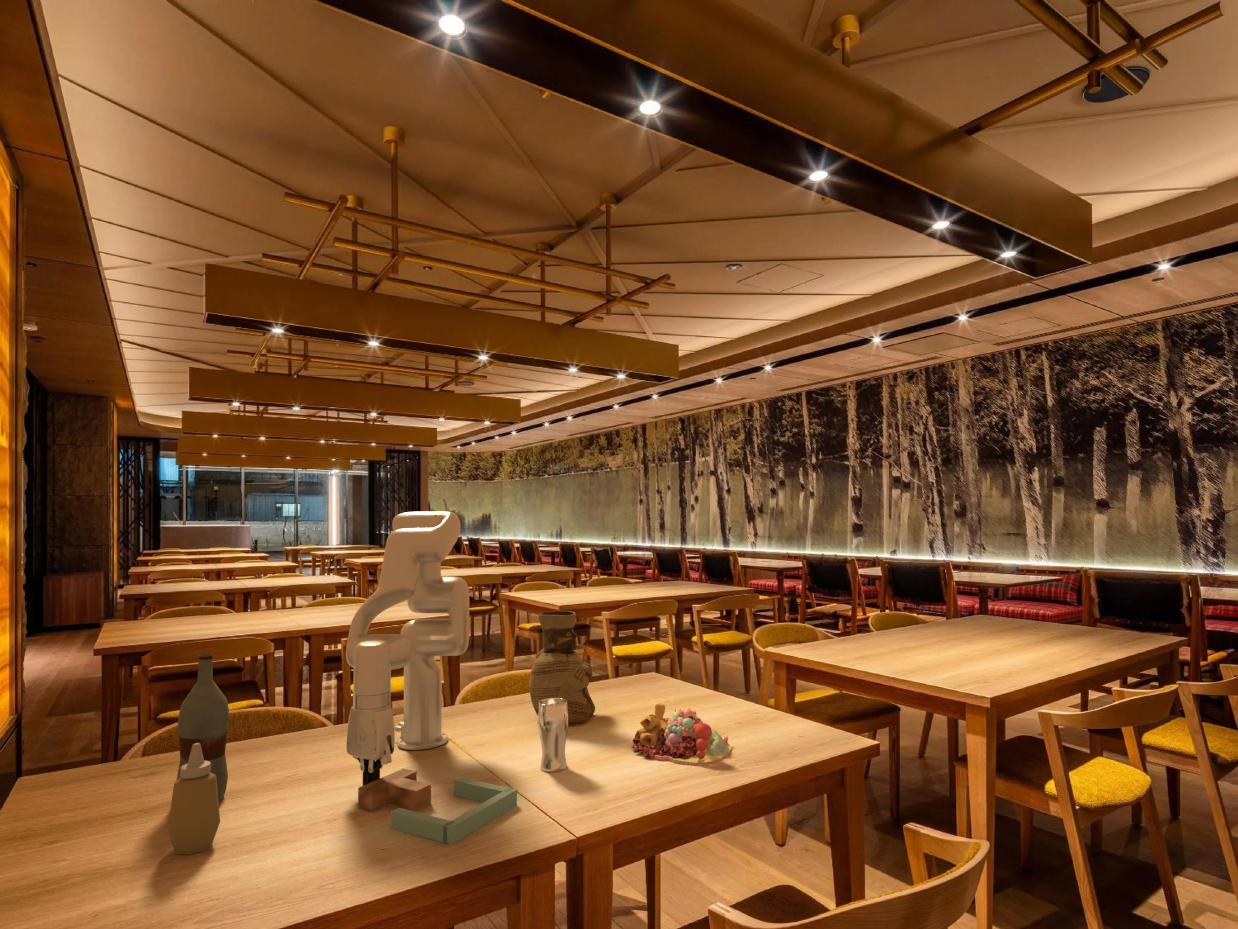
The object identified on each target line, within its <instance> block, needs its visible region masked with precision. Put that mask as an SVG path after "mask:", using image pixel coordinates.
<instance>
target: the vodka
mask: <svg viewBox="0 0 1238 929" xmlns="http://www.w3.org/2000/svg"><path fill="white" fill-rule="evenodd" d="M197 657H198V661H197V662H198V664H197V666H198V667H197V681H196V683H195V684H194V686H193V687H192V688H191V690H190V691H189V693H188V694H187V695H186V697H185V698H184V700H183V701H182V703H181V706H180V709H179V714H178V718H177V730H178V742H179V743H178V744H179V745H178V746H179V760H180V761H179V764H178V770H177V775H176V781H177V780H178V779H179V778H181V776H180V771H181V767H182V766H183V765H185V764H188V761H189V757H190V753H191V749H192V745H193V744H195V743H200V745H201V749H202V754H203V758H204V761H210V763H211V771H210V773H213V774H215V775H216V779H217V790H218V802H220V801H221V800H223V799H224V798H225V794H226V791H227V786H228V778H229V771H228V764H227V758H226V747H227V739H228V738H227V735H228V730H229V729H228V728H229V723H230V722H229V721H230V710H229V708H230V707H229V703H228V699H227V697H226V696H225V694H224V693H223V691H222V690H221V689H220V688H219V686H218V685H217V683H216V682H215V681H214V679H213V674H214V673H213V663H214V662H213V660H214V659H213V657H214V654H213V653H212V652H211V653H210V652H209V653H201V654H198V656H197ZM176 781H175V782H176Z"/></svg>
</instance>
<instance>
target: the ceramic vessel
mask: <svg viewBox="0 0 1238 929" xmlns="http://www.w3.org/2000/svg"><path fill="white" fill-rule="evenodd" d="M576 619H577V614H576V612H575V611H571V610H552V611H545V612H540V613H539V614H538V620H539V624H540V627H541V629H542V646H543V648H542V649H540V650H539V651H538V653H536V655H535V661H534V662H533V665H532V667H531V669H530V674H529V675H530V676H529V683H528V685H529V687H528V688H529V694H530V700H531V703H532V708H533V709H534V712H535V714H536V715H537V716H538V712H539V701H540V700H543V699H546V698H563V699H566V700H567V707H568V726H579V725H583V724H585V723H587V721H588V720H589V718H591V717H592V716H593V715H594V714H595V712H596V705H595V703H594V701H593V699H592V697H591V695H590V693H589V690H588V686H589V685H590V680H591V679H592V678H593V669H592V666H591V662H590V661H588V660H586V659H583V658H582V657H581V656H580V654H579V653H577V651H575V650H576V649H577V638H578V635H577V633H575V630H574V627H575V625H576V621H577V620H576Z"/></svg>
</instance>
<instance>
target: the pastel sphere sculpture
mask: <svg viewBox="0 0 1238 929" xmlns="http://www.w3.org/2000/svg"><path fill="white" fill-rule="evenodd" d="M665 712H666V705H665V704H663V703H660V702H659V703H657V704H655V706H654V714H653V713H651V714H648V715H647V716H644V717H643V718H642V719H641V720H640V725H641V726H642V727H640V728H639V729H638V730H637V731H636V732H635V734H634V738H633V739H632V741H631V742H632V744H630V746H631V748H630V749H633V750H634V752H633V754H636V753H639V752H642V755H641V758H642V757H643V758H648V759H656V760H658V761H670V762H671V763H673V764H679V765H686V766H694V767H695V766H706V765H713V764H715V763H717V762H720V761H721V760H722V759H725V758H726V757H727V756H729V755H731V751H732V747H731V745H730V744H729V738H728V735H726V736H725V737H724V738H723V736H721V735H720V734H719V732H718V730H716V729H712V727H711V726H710V725H709V724H708V723H706V722H704V721H703V720H702V718H699V717H698V716H697V712H696V711H695V710H691V708H690V707H686V708H685V709H681V708H679V709H678V710H677V709H676V708H675V710H674V712H673V713H672V717H670V718H669V717H667V718H666V717H664V714H665Z"/></svg>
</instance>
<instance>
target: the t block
mask: <svg viewBox="0 0 1238 929" xmlns="http://www.w3.org/2000/svg"><path fill="white" fill-rule="evenodd" d="M417 777H418V774H417V770H412V769H408V768H401V769H398V770H395V771H394V772H392V773H389V774H387V775H385V776H383V777H380V779H378V780H375V781H373V782H371V783H368V784H366V785H364V786H363V785H361V786H359V787H358V788H357V790H358V791H357V792H358V793H357V809H360V810H362V809H363V811H366V812H370V813H373V812H375V811H377V810H379V809H381V808H383V807H386V806H391V807H395V808H403V809H407V810H410V811H414V812H418V813H419V812H420V811H421V810H423V809H425V808H427V807H429V806H431V805H432V783H427V782H422V781H418V778H417Z"/></svg>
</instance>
